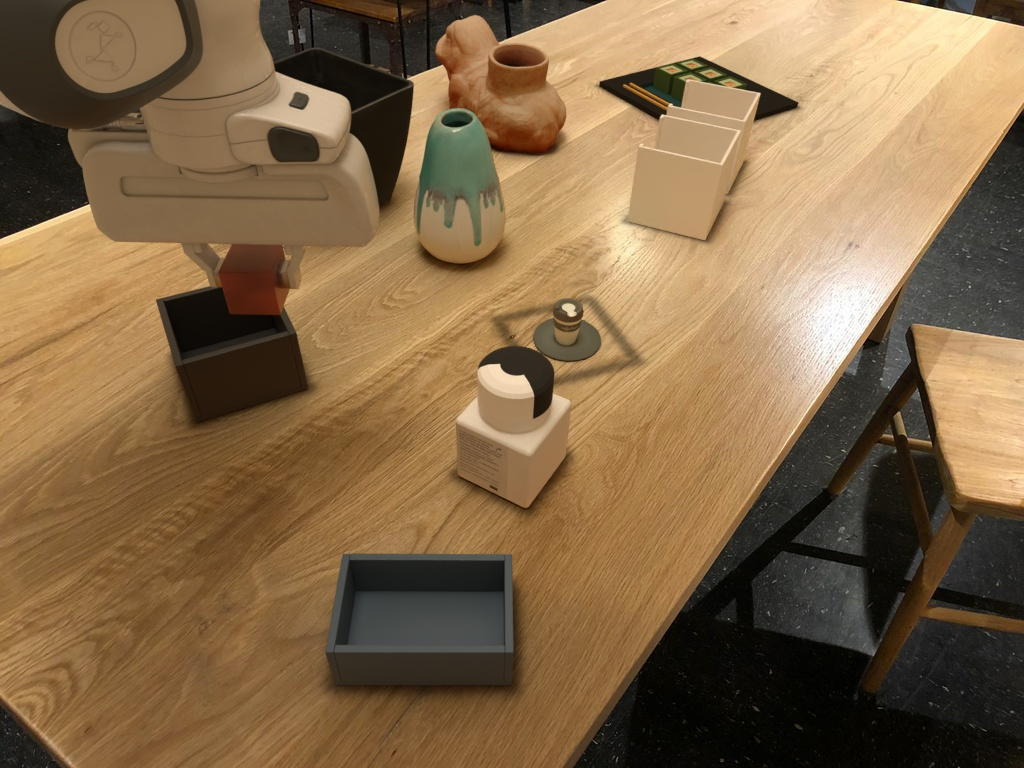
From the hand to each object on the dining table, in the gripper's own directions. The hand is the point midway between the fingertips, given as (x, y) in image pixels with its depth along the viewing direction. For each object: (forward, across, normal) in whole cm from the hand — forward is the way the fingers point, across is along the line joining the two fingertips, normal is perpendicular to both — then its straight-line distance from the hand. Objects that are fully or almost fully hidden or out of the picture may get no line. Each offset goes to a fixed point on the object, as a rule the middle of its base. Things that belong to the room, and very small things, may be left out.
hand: (257, 284), depth 61 cm
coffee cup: (+20, +27, +17) cm, 37 cm away
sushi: (+20, +54, +86) cm, 104 cm away
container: (+20, +21, -2) cm, 29 cm away
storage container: (+20, +47, +52) cm, 73 cm away
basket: (+19, -8, +11) cm, 24 cm away
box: (+19, +14, -19) cm, 31 cm away
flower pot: (+20, -5, +46) cm, 50 cm away
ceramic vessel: (+20, +18, +72) cm, 77 cm away
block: (+2, 0, 0) cm, 2 cm away
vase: (+20, +14, +35) cm, 43 cm away
